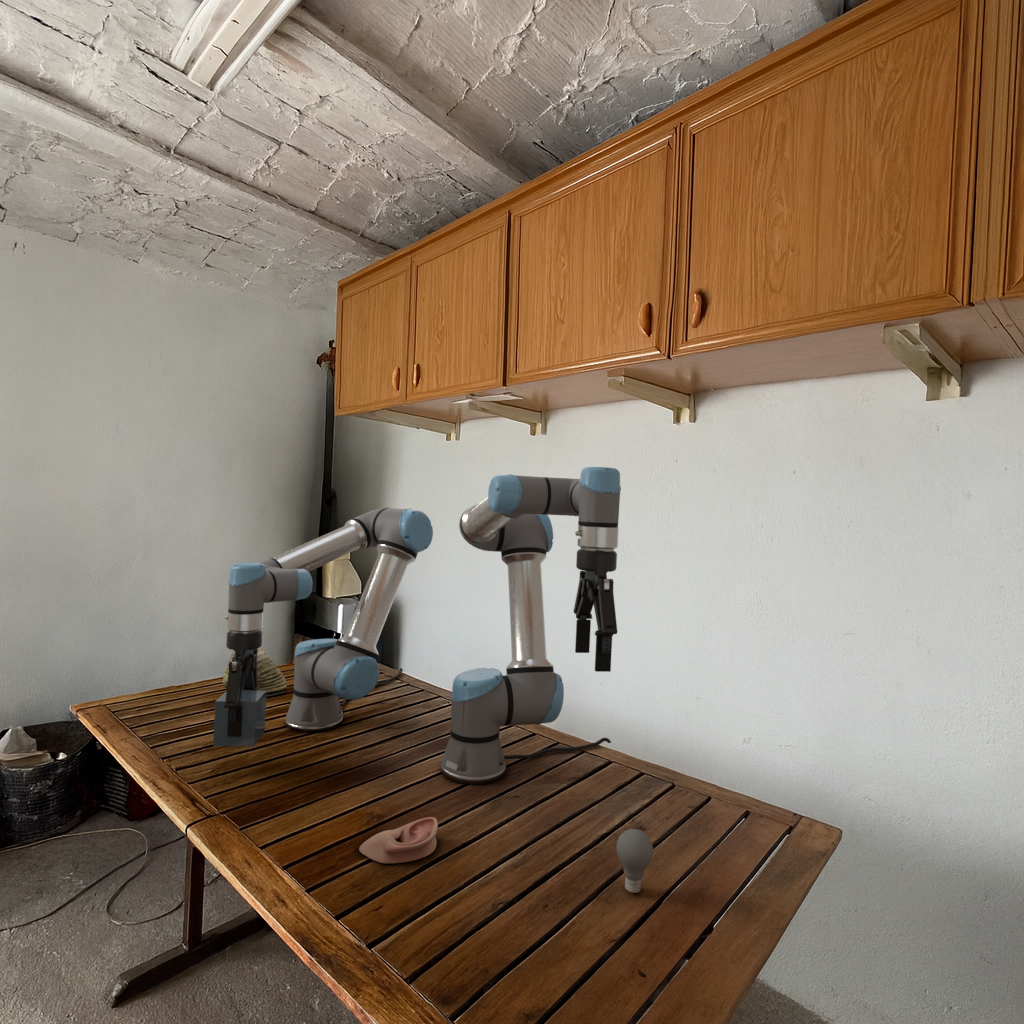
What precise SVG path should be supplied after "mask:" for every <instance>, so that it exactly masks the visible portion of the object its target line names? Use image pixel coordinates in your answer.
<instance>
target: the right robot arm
mask: <svg viewBox="0 0 1024 1024" xmlns="http://www.w3.org/2000/svg"><path fill="white" fill-rule="evenodd" d="M621 491H622V486H621V473H620V471H619V469H618V468H615V467H607V466H585V467H583V468H582V469H581V471H580V477H579V478H569V477H568V478H567V477H550V476H549V477H548V476H547V477H546V476H534V475H533V476H531V475H530V476H529V475H515V474H511V473H509V474H497V475H494V476H493V477H492V478H491V480H490V483H489V485H488V491H487V497H486V498H484V499H483V500H482V501H481V502H480V503H475V504H472V505H470V506H468V508H466V509H465V510H464V511H463V513H462V514H461V516H460V518H459V522H458V524H459V525H458V526H459V532H460V534H461V536H462V538H463V539H464V540H465V542H466V543H468V544H469V545H471V546H472V547H473V548H475V549H478V550H481V551H484V552H496V553H497V552H499V553H500V554H501V555H500V557H501V561H502V562H503V563H504V564H506V566H507V580H508V599H509V619H510V621H509V622H510V623H509V625H510V642H511V643H510V644H511V662H510V663H509V664H508V665H507V667H506V668H505V669H506V670H505V671H506V674H505V675H503V674H502V673H503V672H502V671H500V669H498V668H493V667H490V668H487V667H479V668H473V669H468V670H464V671H463V672H460V673H458V674H457V675H456V676H455V677H454V679H453V681H452V689H451V695H450V699H451V707H450V708H451V710H450V731H449V736H450V737H449V739H448V742H447V745H446V747H445V750H444V753H443V755H442V759H441V763H440V772H441V774H442V775H443V776H444V777H445V778H446V779H448V780H450V781H453V782H456V783H460V784H465V785H481V784H482V785H484V784H489V783H493V782H496V781H498V780H500V779H501V778H503V777H504V776H505V774H506V770H507V763H506V760H526V759H527V760H528V759H533V758H536V757H538V756H541V755H544V754H547V753H553V752H573V751H574V752H575V751H581V750H586V749H591V748H594V747H595V748H596V747H597V746H599V745H601V744H602V743H605V742H606V743H608V744H611V743H612V741H611V739H610V738H608V737H602V738H600V739H598V740H596V741H595V742H592V743H587V744H583V745H577V746H569V747H568V746H567V747H549V748H544V749H541V750H539V751H536V752H533V753H528V754H509V755H504V751H503V747H502V744H501V740H500V731H501V730H500V729H501V727H511V726H527V725H537V726H540V725H542V724H549V723H553V722H555V721H556V720H557V719H558V717H559V716H560V714H561V711H562V709H563V704H564V700H565V699H564V697H565V687H564V682H563V679H562V676H561V675H560V674H559V673H557V672H555V669H554V664H552V663H551V662H550V661H549V659H548V658H547V640H546V625H545V624H546V623H545V608H544V594H543V593H544V591H543V576H542V563H543V562H544V561H545V560H546V559H547V553H549V552H550V551H551V550H552V548H553V544H554V541H553V540H554V529H553V525H552V521H551V518H550V516H569V517H578V522H577V525H578V526H577V530H576V531H575V532H574V533H575V536H576V537H577V546H578V547H579V548H580V549H578V550H577V551H576V563H575V566H576V568H577V569H578V570H580V571H579V581H578V586H577V592H576V595H575V601H574V606H573V614H574V615H575V619H576V622H575V623H576V625H575V647H574V648H575V649H574V652H575V653H576V654H590V649H591V648H590V646H591V625H592V623H591V622H592V620H593V615H592V611H593V609H594V614H595V621H596V626H597V627H596V628H597V629H596V630H595V632H594V636H595V638H596V639H595V653H594V654H595V655H594V656H595V658H594V671H595V672H598V673H600V672H601V673H602V672H604V673H605V672H607V673H609V672H610V673H611V672H612V671H611V670H612V648H613V647H612V646H613V636H614V635H617V634H618V625H617V624H618V623H617V615H616V605H615V595H614V579H613V578H608V575H607V573H609V572H610V573H612V572H615V571H616V570H617V564H618V563H617V562H618V553H617V551H615V550H616V549H618V548H619V517H620V503H621V502H620V501H621Z"/></svg>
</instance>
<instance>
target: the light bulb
mask: <svg viewBox="0 0 1024 1024" xmlns="http://www.w3.org/2000/svg"><path fill="white" fill-rule="evenodd" d="M615 849H616V854H617V857H618V859H619V861H620V863H621V865H622V867H623V873H624V874H623V875H624V876H625V878H624V888H625V890H627V891H628V892H630V893H634V894H635V893H639V892H640V891H641V889H642V887H641V886H642V879H643V877H644V875H645V871H646V868H647V867H648V866H649V864H650V863H651V861H652V859H653V855H654V847H653V843H652V841H651V838H649V836H648V835H647V834H646V833H645V832H643V831H642V830H641V829H636V828H629V829H627V830H625V831H623V832H622V833H621V834H620V835H619V837H618V839H617V841H616V847H615Z"/></svg>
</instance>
